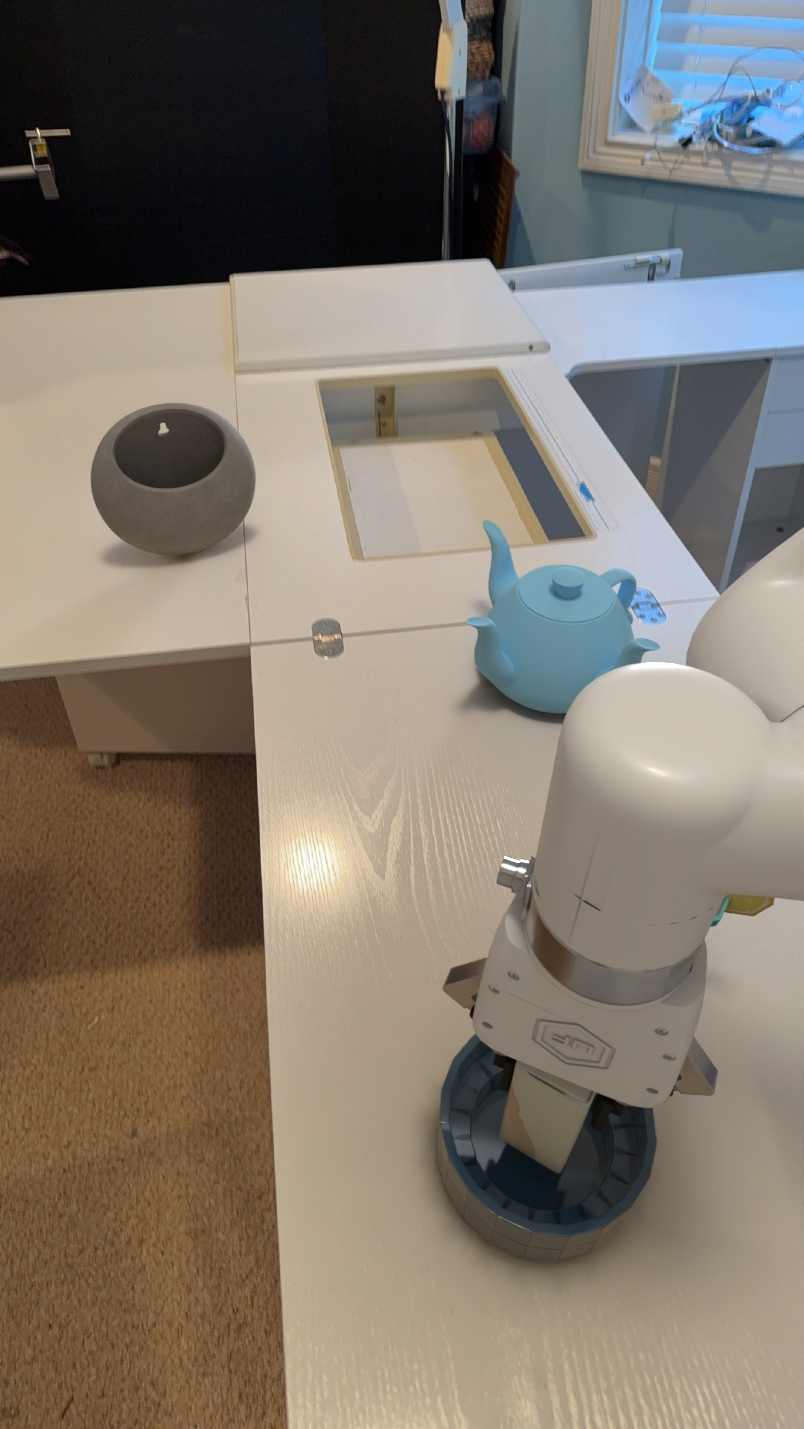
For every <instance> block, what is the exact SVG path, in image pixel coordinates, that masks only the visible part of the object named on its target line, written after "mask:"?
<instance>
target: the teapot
mask: <svg viewBox="0 0 804 1429" xmlns="http://www.w3.org/2000/svg"><path fill="white" fill-rule="evenodd" d="M482 527H483V529H484V531H485V533H486V535H487V538H488V541H489V543H490V549H491V550H490V551H491V559H490V567H489V574H488V589H487V590H488V596H489V600H490V603H491V605H492V608H491V610H490V611H489V613H488V614H487V616H486V617H485V616H473V617H470V618H467V619H466V621H465V623H466V624H467V625H469V626H470V627H473V628H474V629H476V630H477V637H476V642H475V647H474V651H473V658H474V662H475V665H476V668H477V669H478V671H479V673H481V674H482V675H483V676H484V677H485V678H486V679H487V680H489V681H490V683H491V684H492V685H494V687H495V688H496V689H498V691H500V692H501V693H502V694H503V695H504V696H506V697H507V698H509V699H510V700H511V701H513V702H515V703H517V704H519V705H520V706H522V707H525V708H527V709H529V710H533V711H536V712H540V713H545V714H554V715H555V714H556V715H566V714H567V711H568V710H569V708H570V706H571V704H572V703H573V701H574V700H575V698H576V697H577V695H578V694H579V693H580V692H581V691H582V690H583V689H584V688H585V687H586V686H587V685H588V684H590V683H591V682H592V681H594V680H595V679H596V678H598V677H599V676H601V675H603V674H605V673H607V672H609V671H611V670H614V669H616V668H619V667H623V666H626V665H630V664H637V663H642V660H643V656H644V655H645V653H647V652H650V651H651V652H652V651H653V652H654V651H658V650H659V649H660V648H661V646H660V644H659V643H657V642H656V641H654V640H651V639H649V638H645V637H636V638H635V636H634V631H633V627H632V625H633V621H634V617H633V614H632V612H631V611H630V609H629V608H630V606H631V603H632V602H633V600H634V597H635V594H636V591H637V585H638V584H637V579H636V578H635V576H634V574H632V573H631V572H630V571H629V570H628V569H625V568H621V567H615V568H611V569H608V570H606V571H605V572H603V573H602V574H597V573H595V572H593V571H591V570H589V569H587V568H584V567H580V566H576V565H571V564H549V565H543V566H539V567H537V568H534V569H532V570H530V571H528V572H527V573H525V574H524V575H523V576H521V577H519V575H518V574H517V570H516V569H515V565H514V561H513V557H512V552H511V549H510V545H509V542H508V539H507V537H506V535H505V533H504V532H503V530H502V529H501V528H500V527H499V526H498V525H497V524H496V523H494V522H493V521H491V520H489V519H486V520H483V521H482ZM618 584H620V585H619V588H618V591H617V593H616V591H615V590H614V588H613V587H615V586H616V585H618Z"/></svg>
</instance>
